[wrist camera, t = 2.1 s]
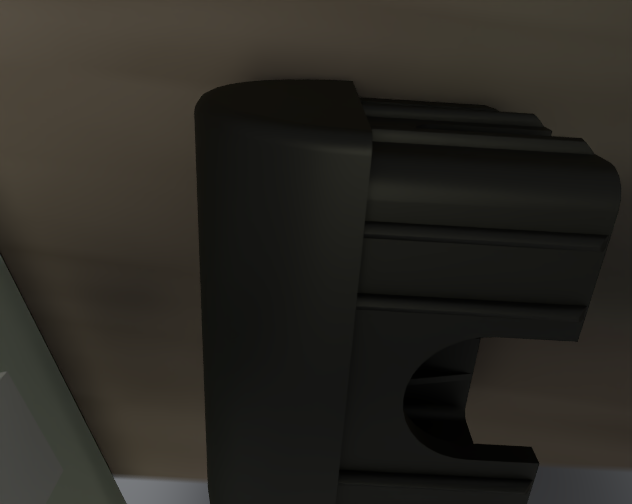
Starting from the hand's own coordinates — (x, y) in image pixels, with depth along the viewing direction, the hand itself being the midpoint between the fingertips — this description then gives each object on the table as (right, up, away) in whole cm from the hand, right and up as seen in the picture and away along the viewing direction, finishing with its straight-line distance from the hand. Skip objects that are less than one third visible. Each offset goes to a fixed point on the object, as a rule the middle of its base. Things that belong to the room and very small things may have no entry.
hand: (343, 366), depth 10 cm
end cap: (+1, +2, +5) cm, 6 cm away
